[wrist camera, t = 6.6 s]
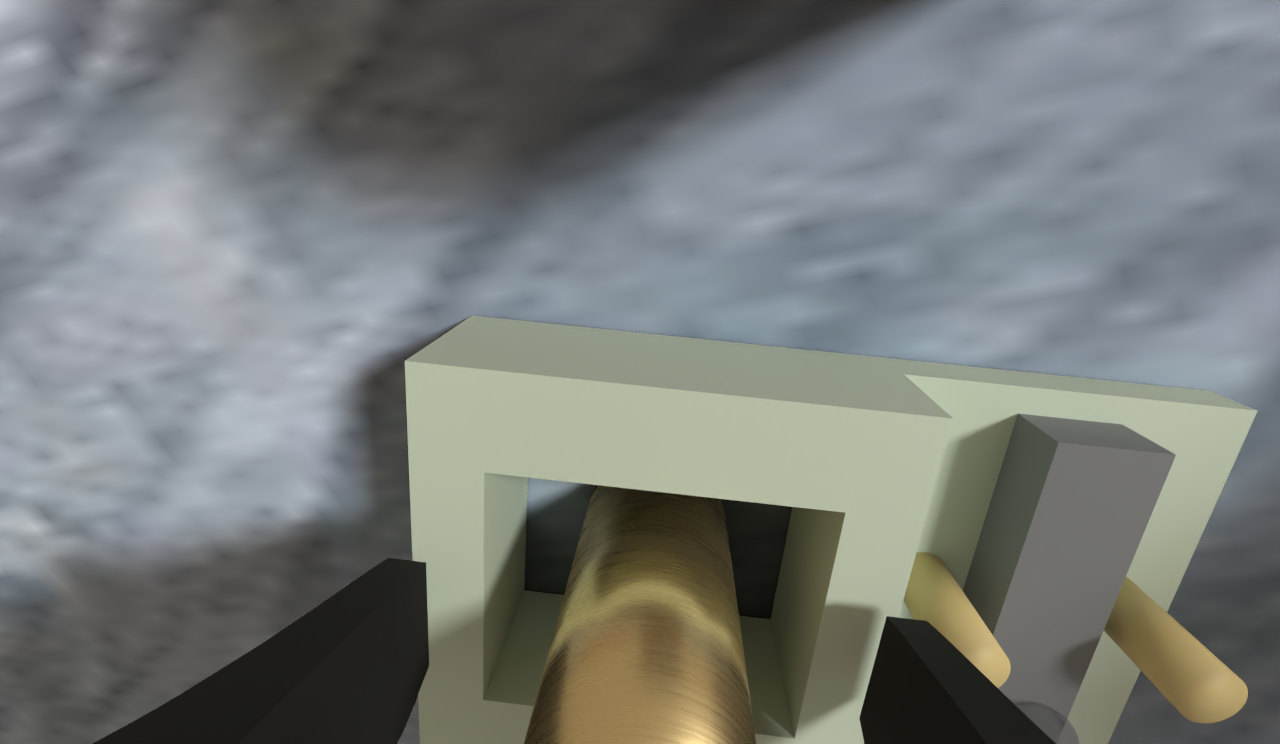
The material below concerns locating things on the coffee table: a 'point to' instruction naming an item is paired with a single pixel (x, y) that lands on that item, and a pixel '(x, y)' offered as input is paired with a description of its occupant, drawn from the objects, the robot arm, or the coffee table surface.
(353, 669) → the robot arm
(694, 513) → the brass pin
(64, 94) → the coffee table surface
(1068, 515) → the slot jig
